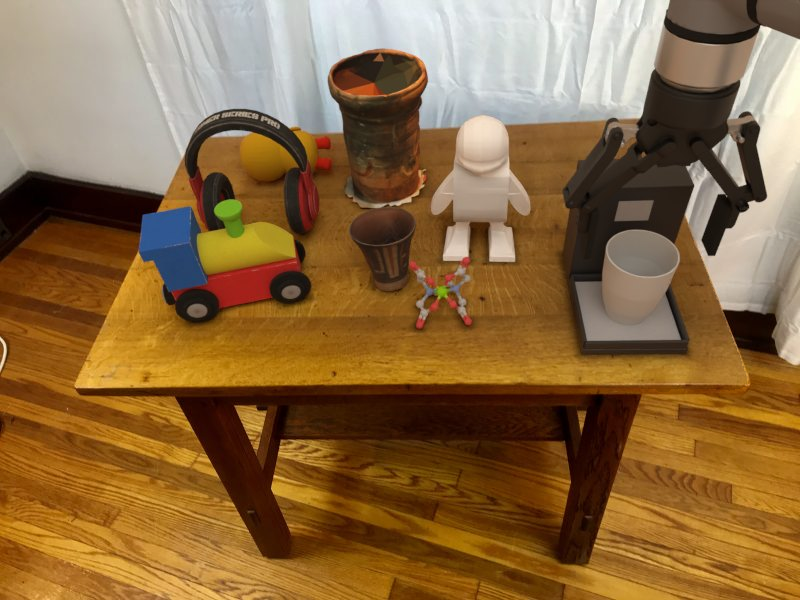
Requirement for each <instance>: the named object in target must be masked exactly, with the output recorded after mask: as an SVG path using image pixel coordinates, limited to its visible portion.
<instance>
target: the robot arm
mask: <svg viewBox="0 0 800 600" xmlns="http://www.w3.org/2000/svg"><path fill="white" fill-rule="evenodd" d="M761 27H764V28H769V29H771V30H774V31H777V32H779V33H782V34H784V35H787V36H790V37H792V38H795V39H797V40H800V0H669V1H668V6H667V9H666V10H665V14H664V18H663V23H662V28H661V31H660V36H659V40H658V44H657V48H656V53H655V58H654V62H653V67H654V69H652V71H651V74H650V78H649V82H648V87H647V91H646V95H645V100H644V104H643V110H642V114H641V115H640V117H639V119H638V120H637V122H636V123H623V122H620V121H619V119H618V118H617V117H610V118H608V119H607V120H606V122H605V125H604V128H603V131H602V135H601V137H600V139H599V140H598V141H597V143H596V144H595V145H594V147H593V148H592V149H591V150H590V152H589V154H588V155H587V156H586V157H585V158H584V159H583V160H584V162H583V163H582V164H581V166H580V167H579V168H578V170H577V169H576V170H577V171H575V172H574V173H573V174H572V176H571V178H570V179H569V180H568V181H567V183H566V184H565V186H564V187H563V188H562V190H561V191H562V196H563V197H562V198H563V201H564V206H565V208H566V209H568V210H570V209H573V208H577V214H576V220H575V223H576V227H577V231H578V233H582V236H581V242H580V245H581V249H582V253H583V258H584V259H591V255H592V250H593V245H594V240H595V235H596V230H597V225H598V220H599V215H600V214H599V210H598V206H599V205H600V204H602V203H603V202H604V201H605V200H607V199H608V198H609V197H610V196H612V195H613V194H614V193H615V192H616V191H618V190H619V189H620V188H621V187H623V186H624V185H625V184H626V183H628V182H629V181H630V180H631V179H633V178H634V177H635V176H636V175H638V174H639V173H641V174H643V173H645V172H646V171H647V170H649V169H650V168H651V167H652V166H654V165H655V164H656V165H657V166H658V167H668V166H672V165H678V166H686V167H691V166H692V164H694V163H696V162H698V161H699V162H700V163H701V164H702V165H703V167H704V168H705V169H706V171H707V172H708V173H709V174H710V175H711V177H712V178H713V180H714V181H715V182H716V184H717V185H718V186H719V188H720V189H721V191H723V193H718V194H717V196H716V197H715V198H716V199H715V202H714V203H713V206H712V209H711V212H710V215H709V218H708V220H707V224H706V226H705V228H704V231H703V234H702V236H701V239H700V241H701V243H702V245H703V247H704V250H705V252H706V254H707V256H708V257H716V255H717V252H718V250H719V248H720V245H721V242H722V240H723V237H724V235H725V232H726V231H727V230H728V229H729V230H731V229H733V227H735V225H736V223H737V221H738V219H739V217H740V214H741V213H743V214H744V213H746V212H747V211H748V210H749V209H750V204H749V203H751V202H756V203H762V202H765V201H766V200H767V198H768V193H767V188H766V184H765V179H764V174H763V169H762V164H761V160H760V159H761V158H760V156H759V150H758V145H757V144H758V141H759V136H760V132H761V126H760V124H759V123H758V122H757V120H756V118H755V117H754V115H753V114H752V112H751V111H749V110H747V111H743V112H741V113H740V114H739V115H738V117H737V118H730V116H731V114H732V110H733V108H734V105H735V102H736V100H737V96H738V93H739V91H740V88H741V79H742V78H744V76H745V74H746V73H745V72H746V70H747V68H748V64H749V61H750V58H751V55H752V52H753V49H754V47H755V43H756V41H757V38H758V34H759V33H760V29H761ZM728 135H730V137H731V139H732V141H733V142H735V143H736V147H737V152H738V156H739V161H740V164H741V165H740V166H741V169H742V173H743V177H744V182H745V184H743V185H739V184H738V183H737V182H736V180H735V178H734V177H732V174H731V173H730V172H729V171H728V169H727V168H726V166H725V165H724V164H723V161H721V159H720V158H719V157H718V155H717V154H716V152H715V151H714V150H713V149H714V148H715V147H716V146H718V145H719V144H720V143H721V142H722V141H723V140H724V139H725V138H726V137H727V136H728ZM632 139H635V140H636V141H635V142H634V143H632V144H631V145H630V146H628V148H627V150H626V153H625V154H623V155H622V156H621V157H620V158H618V159H619V160H618V161H617V162H615V163H614V164H613V165H612V166H611V167H609V168H608V169H607V170H606V171H605V172H604V170H605V169H606V168H607V167H608V165H609V164H610V163H611V161H612V160H613V159H615V158H616V156H617V154H618V153H619V151H620V149H624V148H625V147H626V145H627V143H628V142H629V141H631V140H632ZM643 153H644V154H645V155H644V156H643Z"/></svg>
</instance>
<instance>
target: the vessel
mask: <svg viewBox="0 0 800 600" xmlns="http://www.w3.org/2000/svg"><path fill="white" fill-rule="evenodd" d="M428 83H429V75H428V71H427V67H426V64H425V63H424V61H423V60H422V59H421V58H420V57H418V56H416V55H414V54H412V53H409V52H406V51H403V50H398V49H392V48H374V49H368V50H365V51H363V52H361V53H357V54H354V55H351V56H348V57H344V58H342V59H340V60H338V61H337V62H336V63H334V64H333V65H332V66H331V67H330V69H329V72H328V75H327V85H328V91H329V94H330V96H331V98H332V99H333V100H334V101H335V102H336V103H337V104H338V110H339V111H340V114H341V119H342V133H343V134H342V135H343V140H344V144H345V149H346V153H347V159H348V165H349V170H350V171H349V172H350V175H349V176H348V177H346V181H347V184H346V186H345V188H344V194H346V195H347V197H348V198H352V202H353V203H357V205H358V206H359V207H360V208H369V209H376V208H381V207H386V206H387V205H389V207H394V206H397V207H398V206H401V205H402V204H407V203H412V198H413V197H417V196H419V194H420V190H421V189H423V188H424V187H425V186H426V185H425V184H424V183H425V182H426V181H427V175H426V174H424V171H427V169H426V168H424V169H419V159H420V154H421V148H420V139H421V125H420V108H421V107H422V104H423V99H422V95H423V94H424V92H425V90H426V88H427V86H428Z"/></svg>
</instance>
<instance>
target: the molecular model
mask: <svg viewBox="0 0 800 600" xmlns="http://www.w3.org/2000/svg"><path fill="white" fill-rule="evenodd" d="M470 263H471V258H470V256H469V257H464V258H463V259H462V261H460V264H459V266H458V267H457V269H456V272H453V273H451V274H450V273H447V274H445V276H444V282H443V285H439V286H438V284H437V283H435V279H434V278H433V277H429V276H427V275H426V273H425V270H423V269H421V268H420V267H419V265H417V262H416V261H414V260H411V261H409V266H408V268H410V269H411V270H412V271H413V272H414V273H415V274H416V282H417V283H418V284H422V286H423V288H424V289H425V295H424V296H423V297H422V298H421V299H418V300H417V301H416V302H415V306H416V308H418V309H420V312H419V316H418V318H417V321H416V322H415V327H416V328H417V329H419V330H421V329H422V328H423V327H424V324H425V321H426V320H427V317H428V315H429V313H430V312H431V311H432V312H433V311H434V312H436V311H438V309H439V303H440V300H441V298H445V300H446V301H447V302H448V305H449V308H451V309H456V310H457V313H458V314H459V315H460V317H461V319H462V320H463V322H464V325H465V326H471V325H472V324H473V320H472V318H470V316H469V315H468V313H467V308H466V307H465V306H466V305H467V299H466V298H463V297H462V296H461V293H460V292H459V291H460V287H462V286H463V285H464V284H467V283H470V282H471V276H470V274H467V273H466V270H467V268H468V266H469V265H470ZM457 276H459V277H462V278H461V279H462V280H461V281H460V282H458V283H457V284H454V281H453V278H455V277H457ZM425 281H426V282H425ZM428 285H429V286H432V287H434V288H431V287H429V286H428ZM449 292H452V293H455V295H456V296H457V299H458V301H455V300H452V299H451V297H449V296H448V294H449ZM432 295H433V296H434V297H436V300H435V302H433V303H432V304H430V307H429V308H428V309H427V308H425V301H426V300H427V298H428V297H429V296H430V297H431V296H432Z"/></svg>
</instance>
